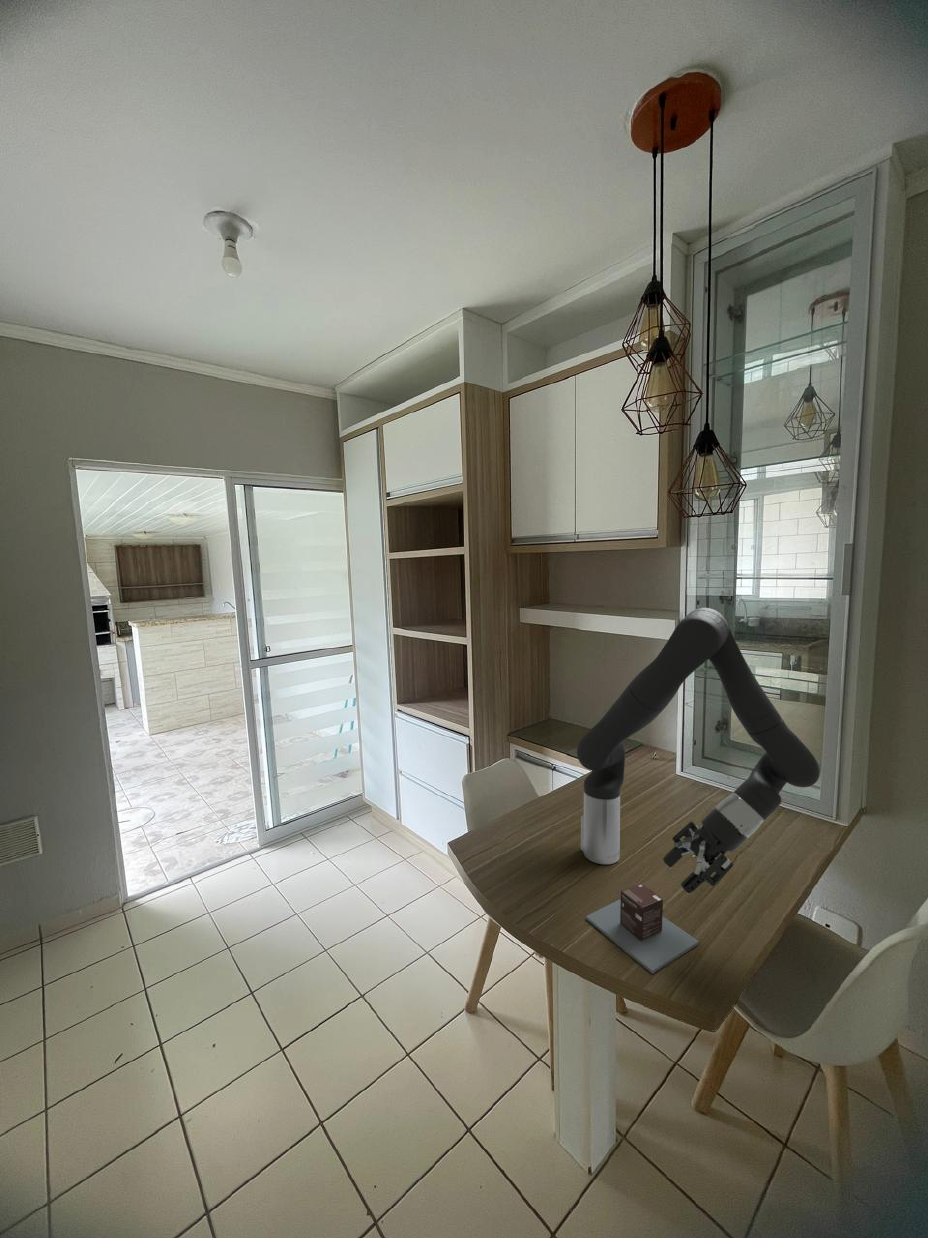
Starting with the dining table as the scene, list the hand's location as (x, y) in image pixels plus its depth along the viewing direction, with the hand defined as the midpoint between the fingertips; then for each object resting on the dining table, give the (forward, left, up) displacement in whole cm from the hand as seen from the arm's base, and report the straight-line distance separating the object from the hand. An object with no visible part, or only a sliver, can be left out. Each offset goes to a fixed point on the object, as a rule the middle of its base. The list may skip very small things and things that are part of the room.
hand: (675, 876), depth 98 cm
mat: (-4, -6, -12) cm, 14 cm away
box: (-4, -6, -11) cm, 13 cm away
